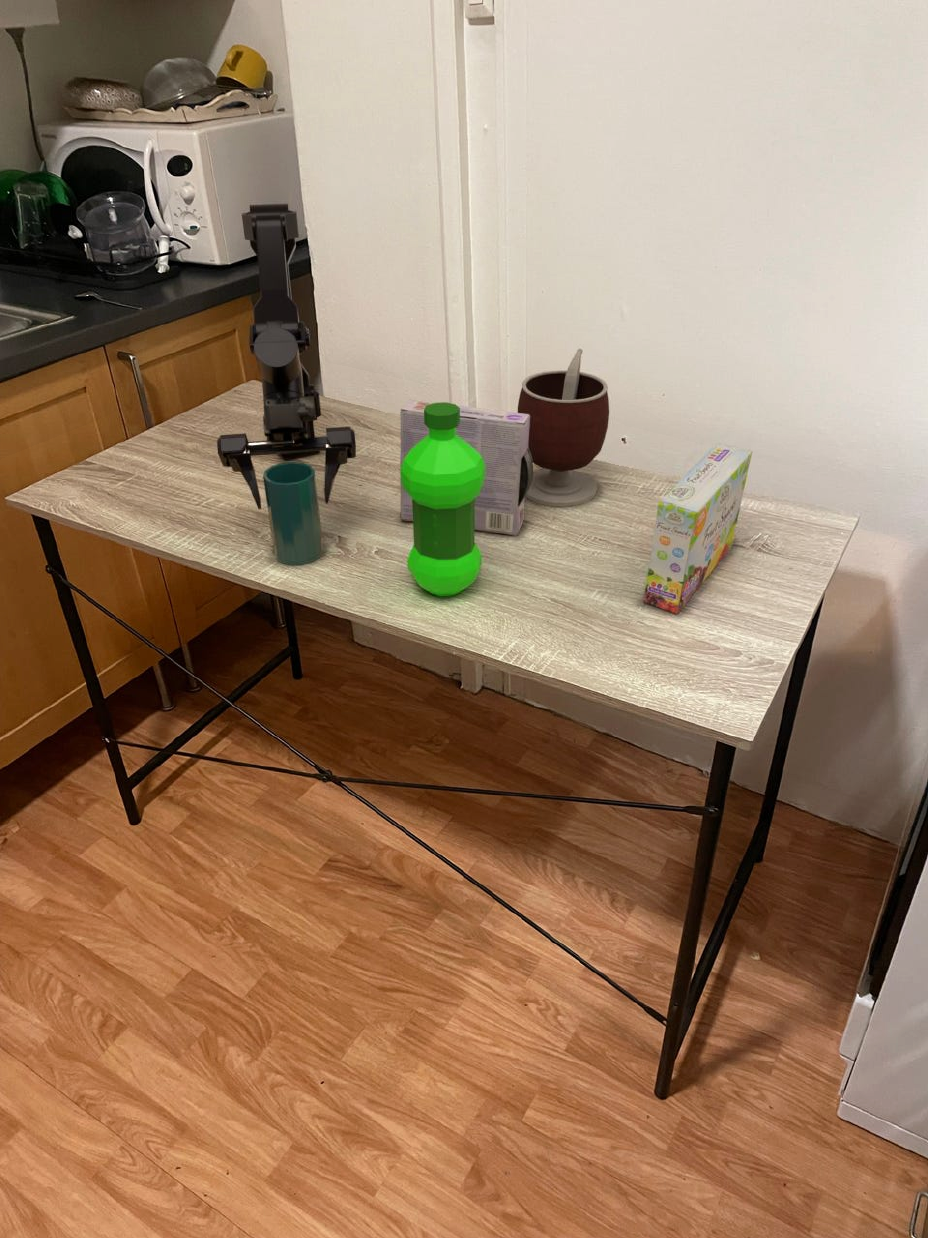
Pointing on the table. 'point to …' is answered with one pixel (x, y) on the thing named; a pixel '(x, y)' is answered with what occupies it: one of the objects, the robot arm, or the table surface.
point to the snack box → (695, 526)
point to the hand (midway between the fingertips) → (293, 505)
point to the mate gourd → (564, 432)
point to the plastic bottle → (443, 504)
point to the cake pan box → (503, 456)
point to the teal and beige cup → (293, 512)
